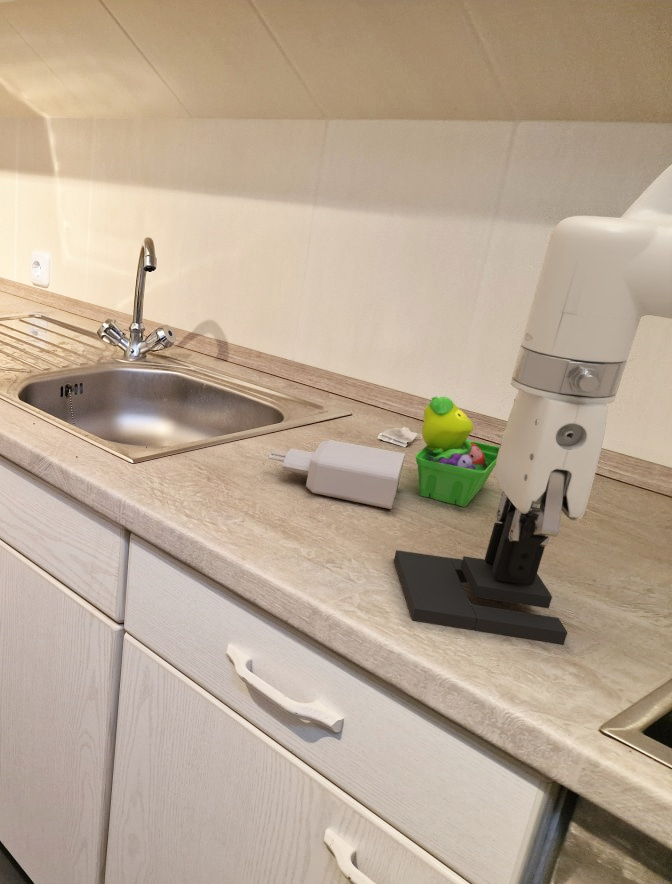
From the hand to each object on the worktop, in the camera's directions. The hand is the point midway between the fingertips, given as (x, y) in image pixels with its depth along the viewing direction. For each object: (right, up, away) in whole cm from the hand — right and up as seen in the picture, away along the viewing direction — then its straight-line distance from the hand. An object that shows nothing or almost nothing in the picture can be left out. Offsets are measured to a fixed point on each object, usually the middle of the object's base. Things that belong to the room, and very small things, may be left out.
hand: (508, 571), depth 76 cm
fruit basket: (+8, +7, +27) cm, 29 cm away
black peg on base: (0, -1, +1) cm, 2 cm away
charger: (-7, +7, +27) cm, 29 cm away
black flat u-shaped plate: (-2, -3, +2) cm, 4 cm away
